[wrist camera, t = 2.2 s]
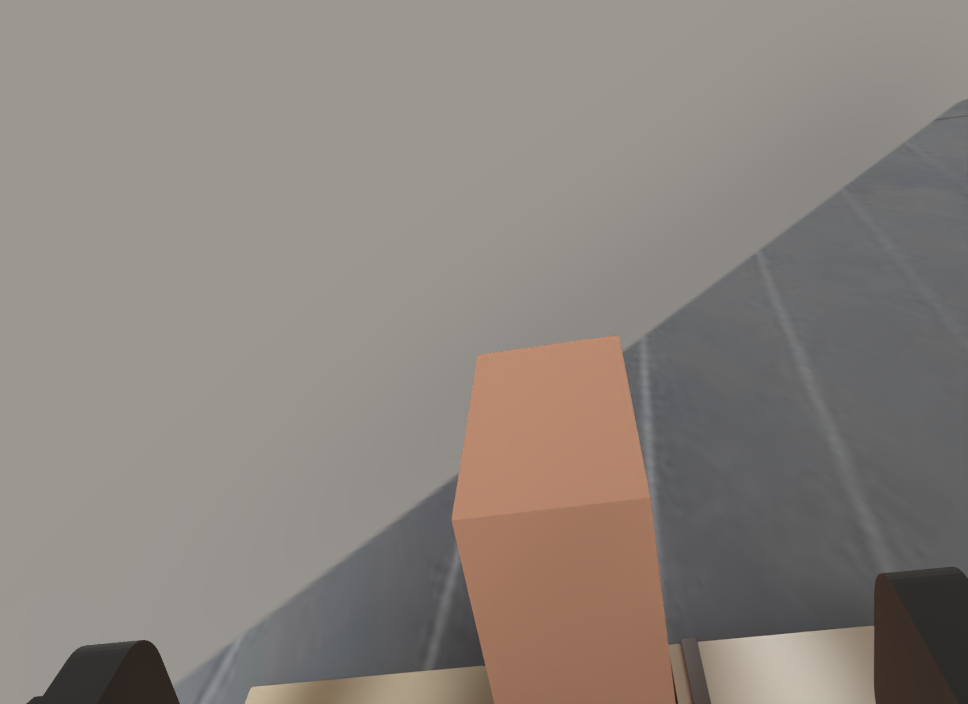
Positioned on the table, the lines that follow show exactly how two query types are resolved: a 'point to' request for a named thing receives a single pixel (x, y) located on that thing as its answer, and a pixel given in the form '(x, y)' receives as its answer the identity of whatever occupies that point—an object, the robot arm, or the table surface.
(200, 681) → the table surface
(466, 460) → the salmon orange block
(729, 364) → the table surface
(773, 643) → the wooden base board
